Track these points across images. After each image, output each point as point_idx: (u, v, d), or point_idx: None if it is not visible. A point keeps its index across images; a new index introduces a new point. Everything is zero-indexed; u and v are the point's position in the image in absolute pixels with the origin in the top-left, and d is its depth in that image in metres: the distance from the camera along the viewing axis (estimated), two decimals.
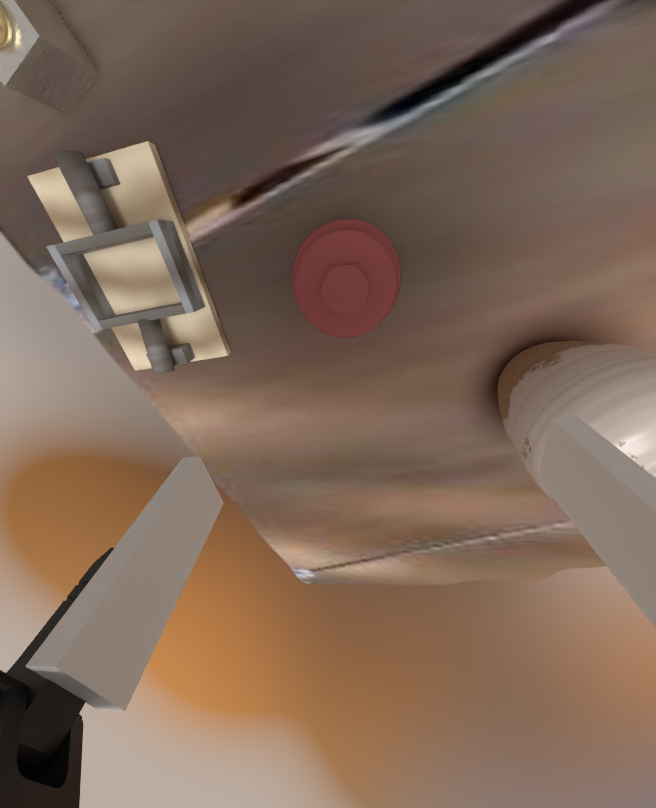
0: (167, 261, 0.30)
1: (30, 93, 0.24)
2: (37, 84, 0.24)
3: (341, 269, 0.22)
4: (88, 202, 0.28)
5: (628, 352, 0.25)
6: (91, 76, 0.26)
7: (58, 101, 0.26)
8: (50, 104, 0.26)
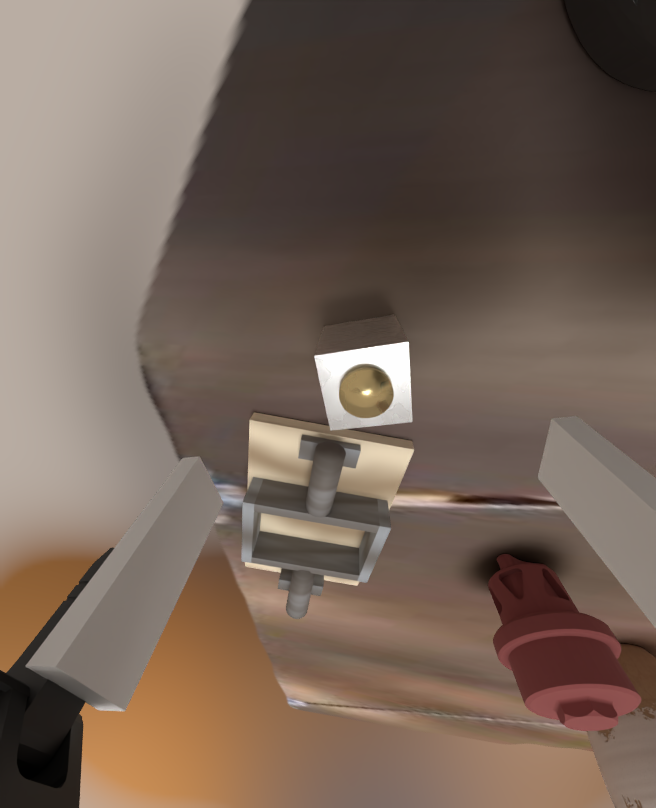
0: (373, 550, 0.27)
1: None
2: None
3: (602, 718, 0.22)
4: (327, 496, 0.23)
5: None
6: None
7: None
8: None
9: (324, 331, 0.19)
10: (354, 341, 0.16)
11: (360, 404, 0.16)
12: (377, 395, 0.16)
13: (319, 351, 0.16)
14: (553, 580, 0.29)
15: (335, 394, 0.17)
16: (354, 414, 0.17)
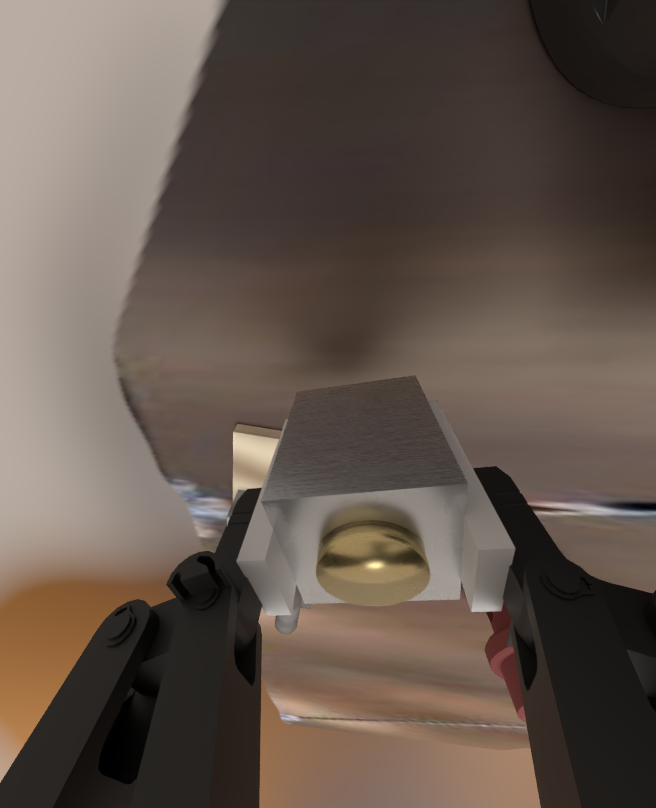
0: None
1: None
2: None
3: None
4: None
5: None
6: None
7: None
8: None
9: (295, 409, 0.11)
10: (347, 455, 0.08)
11: (360, 588, 0.08)
12: (395, 577, 0.08)
13: (274, 483, 0.08)
14: None
15: (310, 558, 0.08)
16: (348, 600, 0.08)
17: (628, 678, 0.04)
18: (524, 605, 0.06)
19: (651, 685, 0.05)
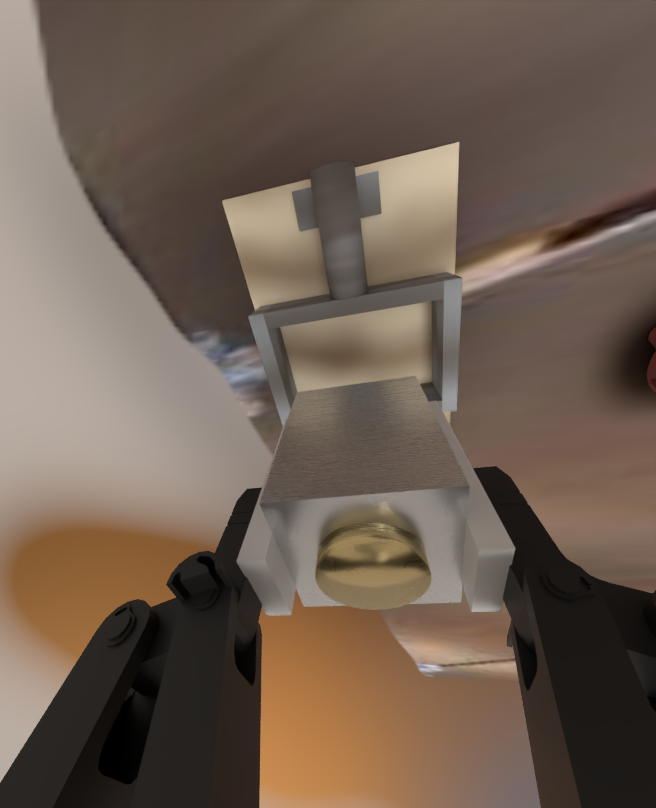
0: (448, 340, 0.18)
1: None
2: None
3: None
4: (350, 249, 0.16)
5: None
6: None
7: None
8: None
9: (294, 409, 0.11)
10: (346, 457, 0.08)
11: (360, 591, 0.08)
12: (396, 580, 0.07)
13: (273, 485, 0.08)
14: None
15: (309, 560, 0.08)
16: (348, 603, 0.08)
17: (628, 678, 0.04)
18: (524, 605, 0.06)
19: (651, 685, 0.05)
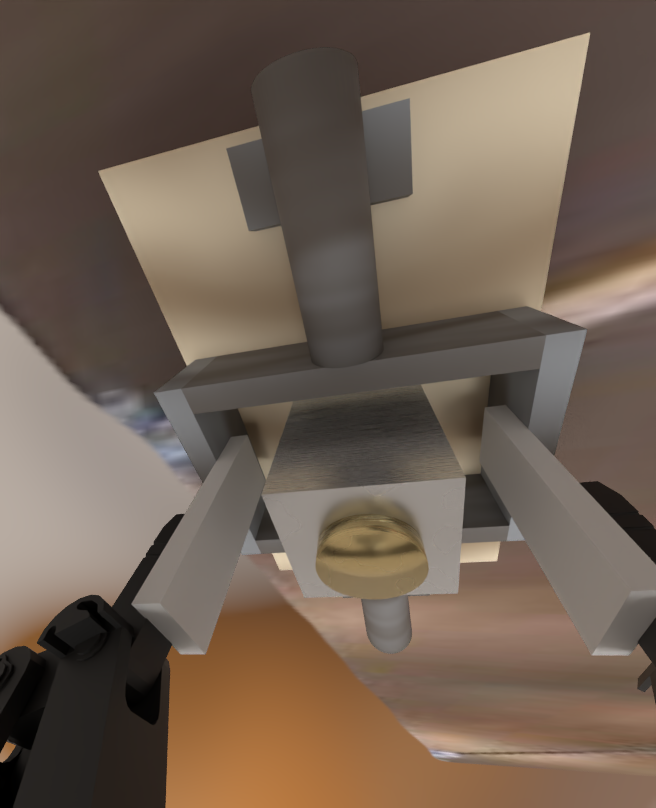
0: None
1: None
2: None
3: None
4: (349, 269, 0.07)
5: None
6: None
7: None
8: None
9: (295, 405, 0.11)
10: (346, 450, 0.08)
11: (359, 581, 0.08)
12: (394, 570, 0.08)
13: (275, 477, 0.08)
14: None
15: (310, 552, 0.08)
16: (347, 593, 0.08)
17: None
18: None
19: None
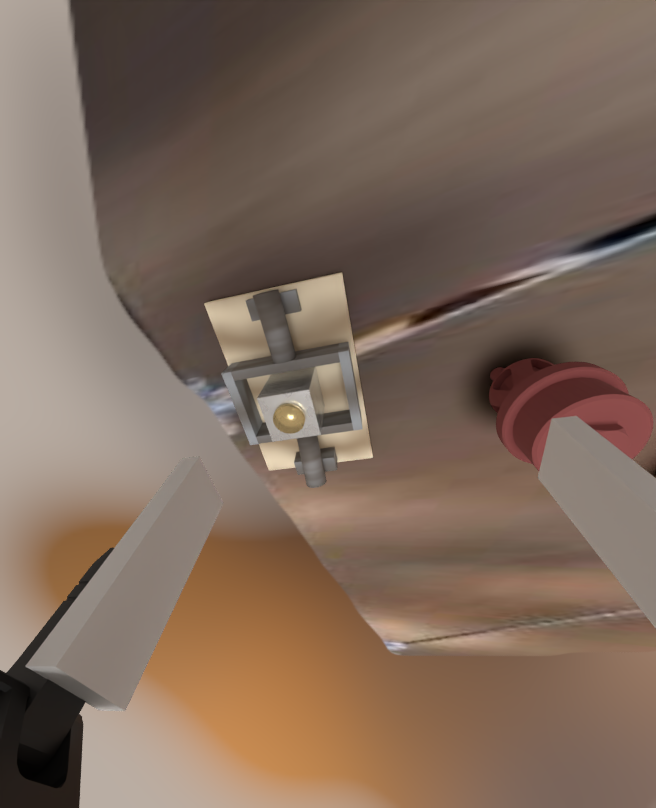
0: (348, 385, 0.29)
1: None
2: None
3: (606, 434, 0.21)
4: (280, 336, 0.27)
5: None
6: None
7: None
8: None
9: (269, 378, 0.31)
10: (282, 388, 0.28)
11: (286, 425, 0.27)
12: (295, 420, 0.27)
13: (260, 395, 0.27)
14: (545, 364, 0.28)
15: (272, 419, 0.28)
16: (283, 431, 0.28)
17: None
18: None
19: None
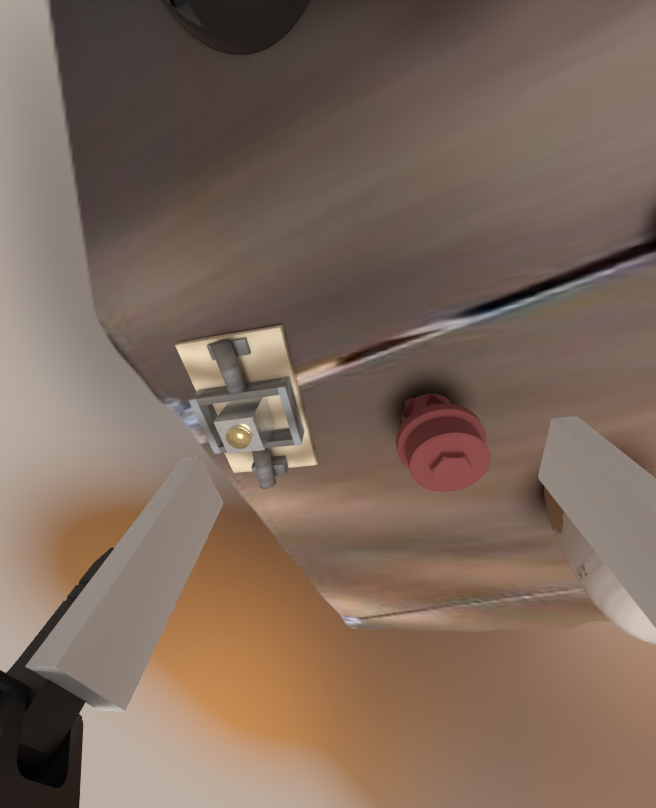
0: (287, 412, 0.37)
1: None
2: None
3: (452, 460, 0.29)
4: (231, 374, 0.35)
5: None
6: None
7: None
8: None
9: (228, 403, 0.39)
10: (234, 413, 0.36)
11: (236, 443, 0.35)
12: (242, 439, 0.35)
13: (217, 419, 0.35)
14: (438, 399, 0.36)
15: (226, 437, 0.36)
16: (234, 447, 0.36)
17: None
18: None
19: None
